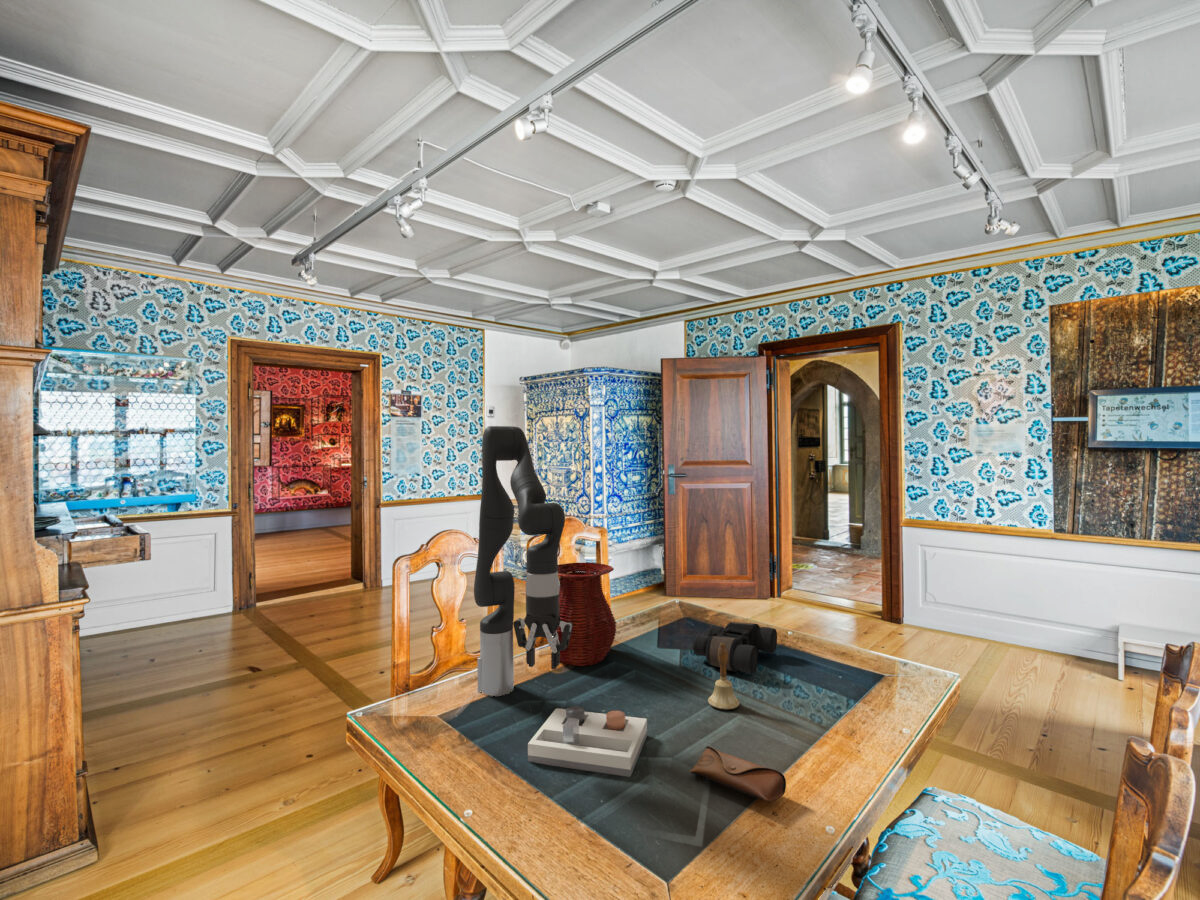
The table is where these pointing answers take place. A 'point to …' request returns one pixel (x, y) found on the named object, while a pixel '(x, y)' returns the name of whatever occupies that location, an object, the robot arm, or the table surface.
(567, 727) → the steel slider
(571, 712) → the black button
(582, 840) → the table surface
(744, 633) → the binoculars
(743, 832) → the table surface
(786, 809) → the table surface
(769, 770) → the sunglasses case
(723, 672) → the hand bell
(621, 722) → the terracotta button
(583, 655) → the vase
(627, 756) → the console
